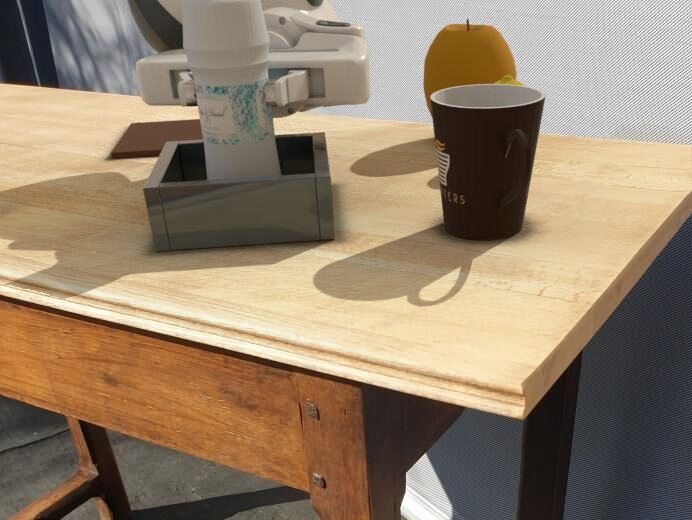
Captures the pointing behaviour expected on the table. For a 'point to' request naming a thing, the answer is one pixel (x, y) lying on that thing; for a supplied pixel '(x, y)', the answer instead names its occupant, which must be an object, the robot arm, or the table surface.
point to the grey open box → (240, 198)
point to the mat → (155, 137)
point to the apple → (466, 58)
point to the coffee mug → (485, 156)
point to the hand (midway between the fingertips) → (230, 95)
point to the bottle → (231, 86)
